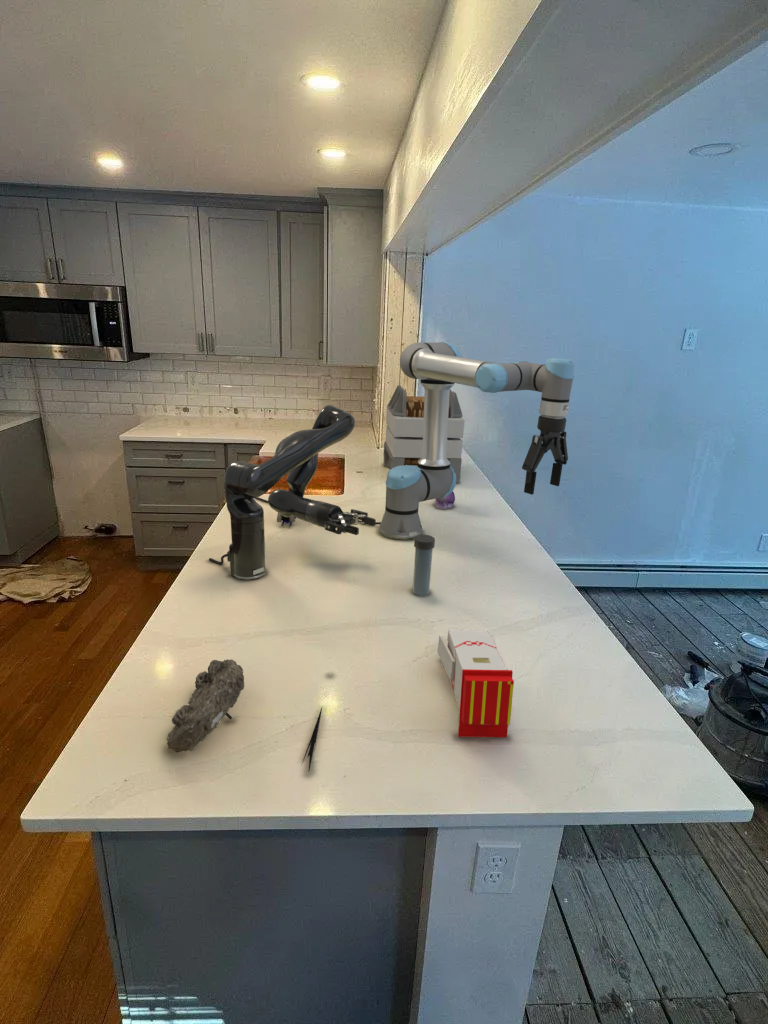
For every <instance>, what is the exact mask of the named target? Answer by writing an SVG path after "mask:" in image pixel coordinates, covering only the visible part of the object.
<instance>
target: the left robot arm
mask: <svg viewBox="0 0 768 1024" xmlns="http://www.w3.org/2000/svg"><path fill="white" fill-rule="evenodd" d="M355 426H356V420H355V417H354V415H352V413H351V414H350V413H349V412H348V411H346V410H343V409H341V408H340V407H337V406H335V405H333V404H327V405H325V406H324V407H323V408H322V409H321V410H320V412H319V413H318V415H317V417H316V418H315V421H314V423H313V426H312V428H311V429H302V430H297V431H295V432H293V433H291V434H290V435H288V436H286V437H284V438H283V439H282V440H281V441H280V442H279V443H278V444H277V446H276V448H275V451H274V455H273V456H272V457H271V458H269V459H268V460H266V461H264V462H262V463H258V464H255V463H251V462H247V461H243V460H236V461H235V460H234V461H233V462H231V463H230V464H229V465H228V466H227V468H226V470H225V473H224V480H223V481H224V493H225V501H226V508H227V509H226V510H227V511H228V514H229V516H230V534H231V535H230V536H231V542H230V544H229V545H228V551H227V552H226V553H225V554H222V556H220V561H218V560H216V559H214V558H213V557H212V558H211V557H209V558H208V561H210V562H212V563H215V564H217V565H223V564H224V562H225V560H224V559H225V558H226V559H227V562H228V563H229V568H230V569H229V570H230V571H229V573H230V576H231V577H235V578H236V579H239V580H245V581H246V580H247V581H251V580H257V579H260V578H262V577H264V576H265V575H266V573H267V567H266V543H265V542H266V540H265V536H266V535H265V512H264V511H265V510H264V508H263V506H261V505H260V504H259V502H257V501H256V500H255V499H256V498H257V497H258V498H261V496H263V495H264V494H266V493H267V492H268V491H269V490H271V489H272V488H273V487H274V486H275V485H277V483H279V481H281V480H282V479H283V478H284V477H286V479H285V481H286V483H287V485H288V490H286V489H283V488H280V489H279V488H278V489H274V490H273V491H271V492H270V494H269V495H268V498H267V501H268V503H267V504H268V506H269V507H270V509H272V510H273V511H275V512H276V513H277V514H278V513H279V514H281V515H282V516H284V517H291V516H294V517H296V519H298V520H300V521H303V522H306V523H310V524H312V525H314V526H317V527H320V528H323V529H324V530H325V531H327V532H331V533H333V534H336V535H342V533H343V534H347V533H348V534H351V535H355V536H357V535H360V534H359V533H360V528H359V527H358V525H359V524H362V523H364V524H363V525H366V524H367V526H370V527H376V525H377V524H376V522H377V520H376V518H374V517H370V516H369V512H367V511H363V510H362V511H361V510H358V509H353V508H351V509H350V511H349V512H348V511H343V509H342V508H341V507H340V506H339V505H336V504H333V503H330V502H325V501H322V500H315V499H311V498H308V497H304V496H305V493H306V489H307V487H308V486H309V484H310V482H311V481H312V479H313V477H314V476H315V474H316V472H317V469H318V465H319V453H321V452H323V451H324V450H325V449H327V448H329V447H331V446H333V445H335V444H337V443H339V442H341V441H343V440H345V439H346V438H347V437H349V435H351V433H352V432H353V430H354V429H355ZM353 519H356V520H355V521H353Z"/></svg>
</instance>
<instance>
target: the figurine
mask: <svg viewBox="0 0 768 1024" xmlns="http://www.w3.org/2000/svg"><path fill="white" fill-rule="evenodd" d="M455 501H456V496H455V493H454V490H453V491H452V492H451V493H450V494H449V495H447V496H445V497H442V498H439V499H434V506H435V508H436V509H441V510H447V509H451V508H453V507H454V506H455Z"/></svg>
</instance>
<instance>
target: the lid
mask: <svg viewBox="0 0 768 1024" xmlns="http://www.w3.org/2000/svg"><path fill="white" fill-rule="evenodd" d="M413 540H414V542H413V547H414V548H418V549H421V550H430V549H435V544H436V538H435V537H434V536H432V535H429V534H422V535H417V536H415V539H413Z"/></svg>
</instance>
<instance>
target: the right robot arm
mask: <svg viewBox="0 0 768 1024" xmlns="http://www.w3.org/2000/svg"><path fill="white" fill-rule="evenodd" d="M399 367H400V369H401V372H402V373H403V374H404V375H405V376H406V377H407V378H410V379H413V380H420V382H419V383H420V385H421V386H422V387H423V388H424V392H423V393H424V396H423V397H424V419H423V445H422V457H421V458H420V459H419V460H418V465H417V466H413V465H402V466H397V467H394V468H392V469H391V470H390V469H389V470H388V472H387V475H386V479H385V504H384V505H385V507H384V508H385V509H384V513H383V515H382V519H381V522H380V521H379V522H378V521H376V525H378V533H379V534H380V535H381V536H382V537H385V538H387V539H389V540H395V541H410V540H414V539H415V536H417V535H423V525H422V524H421V518H420V515H419V507H420V506H419V505H420V503H421V502H426V501H427V502H428V501H430V500H431V501H432V500H435V499H439V498H442V497H445V496H447V495H449V494H450V493H451V492H452V491H453V492H454V489H455V487H456V484H457V483H456V474H455V473H454V469H453V468H452V467H451V466H450V461H449V460H448V459H447V458H446V452H447V433H448V413H449V394H450V390H451V389H452V387H454V386H455V384H458V385H462V386H466V387H467V386H468V387H473V388H478V389H479V390H480V391H481V392H483V393H489V394H496V393H502V392H517V391H533V392H538V393H541V398H540V404H539V412H538V413H539V416H538V419H537V429H538V431H540V433H539V435H536V434H534V435H533V436H532V438H531V439H532V440H531V444H530V446H529V448H528V451H527V452H526V453H527V454H526V456H525V458H524V461H523V464H522V465H521V469H522V470H524V471H525V472H526V473H525V480H524V488H523V493H525V494H528V495H532V496H533V495H534V494H535V487H536V481H537V480H536V479H537V471H536V470H537V468H538V467H539V464H540V463H541V462H542V459H543V457H544V456H545V454H546V453H548V452H549V451H550V452H551V454H552V457H553V460H554V462H553V463H552V468H551V473H550V474H551V475H550V480H549V485H552V486H556V487H559V486H560V483H561V478H562V477H561V476H562V471H563V466H566V465H567V463H568V462H567V461H568V460H569V454H568V446H567V445H568V443H567V431H566V427H567V418H566V417H567V416H568V412H569V409H570V407H569V405H570V398H571V391H572V386H573V382H574V378H575V375H574V373H575V361H574V360H573V359H570V358H569V359H568V358H560V357H559V358H557V357H550V358H548V359H547V360H546V363H545V364H542V363H536V362H529V361H523V360H522V361H518V360H517V361H514V362H510V363H504V362H503V363H502V362H501V363H500V362H495V361H494V362H493V361H486V360H482V359H481V360H480V359H476V358H475V359H474V358H469V357H463V354H462V353H461V351H460V350H459V348H458V347H457V346H456V345H455V344H454V343H451V342H445V341H444V342H443V341H441V342H440V341H439V342H438V341H437V342H422V341H421V342H420V341H419V342H413V343H411V344H409V345H407V346H406V347H405V348H403V350H402V352H401V354H400V357H399ZM255 499H256V500H259V501H262V502H264V503H267V504H269V503H268V499H264V498H261V497H257V498H255ZM355 520H356V519H353V522H355ZM361 525H367V524H364V523H361ZM367 526H368V525H367Z"/></svg>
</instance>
